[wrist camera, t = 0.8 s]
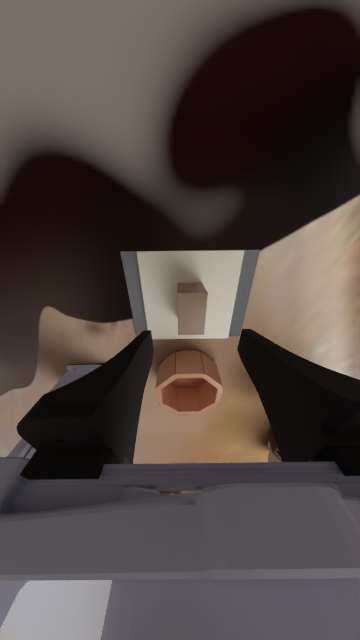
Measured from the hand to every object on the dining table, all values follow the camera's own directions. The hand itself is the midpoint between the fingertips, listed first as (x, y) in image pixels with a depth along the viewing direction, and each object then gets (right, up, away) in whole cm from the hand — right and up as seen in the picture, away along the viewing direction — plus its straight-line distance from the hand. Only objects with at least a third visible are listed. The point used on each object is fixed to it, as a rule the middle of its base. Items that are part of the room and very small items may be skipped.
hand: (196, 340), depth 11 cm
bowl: (0, -8, +15) cm, 17 cm away
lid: (0, +4, +8) cm, 9 cm away
